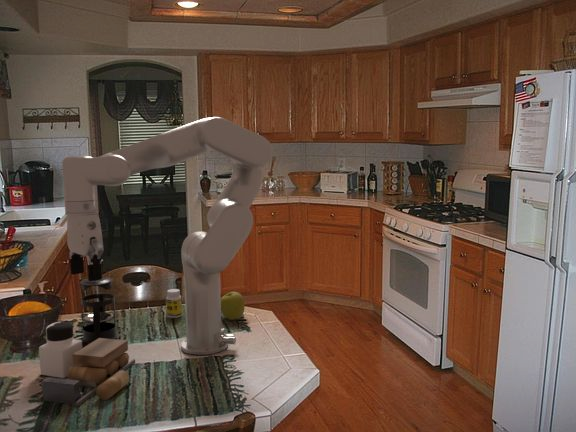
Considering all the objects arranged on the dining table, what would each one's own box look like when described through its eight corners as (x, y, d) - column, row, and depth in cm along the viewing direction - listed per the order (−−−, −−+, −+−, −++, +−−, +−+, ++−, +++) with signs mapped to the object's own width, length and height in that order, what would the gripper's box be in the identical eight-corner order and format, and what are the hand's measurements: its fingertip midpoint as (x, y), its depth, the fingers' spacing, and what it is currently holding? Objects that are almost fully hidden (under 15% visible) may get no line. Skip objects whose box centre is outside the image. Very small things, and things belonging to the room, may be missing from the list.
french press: (115, 343, 155) (110, 262, 152) (79, 346, 153) (74, 264, 150) (119, 329, 166) (115, 254, 163) (86, 331, 165) (82, 255, 162)
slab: (128, 349, 140) (127, 340, 140) (103, 367, 130) (102, 357, 129) (99, 347, 142) (99, 337, 142) (73, 364, 132) (72, 354, 131)
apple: (250, 311, 180) (246, 284, 176) (240, 325, 173) (235, 298, 169) (228, 308, 182) (223, 282, 178) (217, 323, 176) (212, 296, 172)
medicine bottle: (84, 367, 139) (81, 320, 138) (64, 378, 133) (60, 330, 131) (60, 363, 142) (57, 318, 140) (40, 375, 135) (36, 327, 133)
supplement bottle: (164, 317, 177) (163, 292, 176) (170, 313, 182) (169, 288, 181) (178, 318, 176) (177, 292, 175) (184, 313, 181) (183, 288, 180)
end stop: (80, 400, 121) (79, 380, 121) (75, 404, 120) (74, 384, 119) (49, 396, 123) (47, 377, 123) (43, 400, 121) (41, 381, 121)
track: (135, 362, 142) (134, 349, 141) (77, 406, 119) (76, 390, 118) (100, 359, 144) (99, 346, 144) (37, 401, 121) (36, 385, 121)
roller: (120, 387, 130) (113, 373, 130) (132, 381, 129) (124, 368, 129) (101, 402, 122) (93, 388, 122) (113, 396, 121) (105, 382, 121)
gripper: (113, 209, 131) (117, 280, 133) (81, 203, 143) (85, 268, 145) (82, 212, 125) (87, 286, 128) (51, 206, 138) (56, 273, 140)
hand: (86, 276), depth 137 cm, fingers open, 9 cm apart
